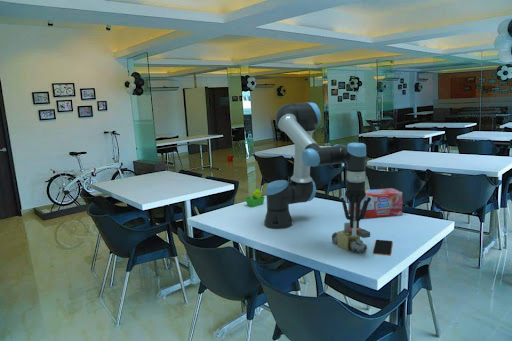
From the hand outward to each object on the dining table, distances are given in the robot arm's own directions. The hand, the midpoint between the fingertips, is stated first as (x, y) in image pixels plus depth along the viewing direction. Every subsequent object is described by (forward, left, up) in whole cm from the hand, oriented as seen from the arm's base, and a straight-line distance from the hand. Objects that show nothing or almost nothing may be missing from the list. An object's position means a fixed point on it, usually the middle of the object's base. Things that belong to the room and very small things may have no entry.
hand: (354, 234), depth 168 cm
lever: (-2, +3, -2) cm, 4 cm away
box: (-36, +49, -9) cm, 61 cm away
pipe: (-8, +4, -9) cm, 12 cm away
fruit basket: (-95, +5, -9) cm, 95 cm away
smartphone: (+1, +16, -10) cm, 18 cm away
